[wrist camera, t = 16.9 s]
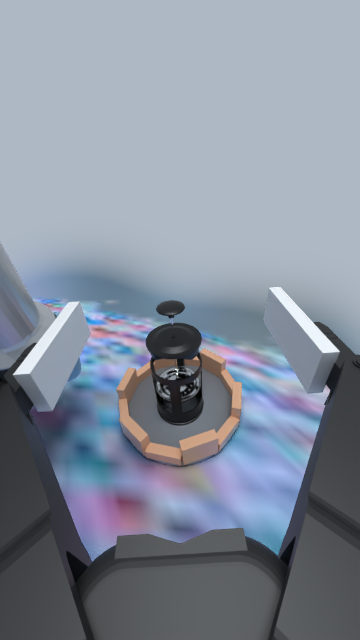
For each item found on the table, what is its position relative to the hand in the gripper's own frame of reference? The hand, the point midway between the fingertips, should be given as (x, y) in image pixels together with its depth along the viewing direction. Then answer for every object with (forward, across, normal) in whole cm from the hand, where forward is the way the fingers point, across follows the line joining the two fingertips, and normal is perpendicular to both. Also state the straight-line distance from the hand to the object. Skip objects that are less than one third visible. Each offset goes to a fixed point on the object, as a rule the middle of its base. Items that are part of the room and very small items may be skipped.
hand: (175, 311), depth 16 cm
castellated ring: (+16, -1, -32) cm, 36 cm away
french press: (+15, -1, -31) cm, 35 cm away
